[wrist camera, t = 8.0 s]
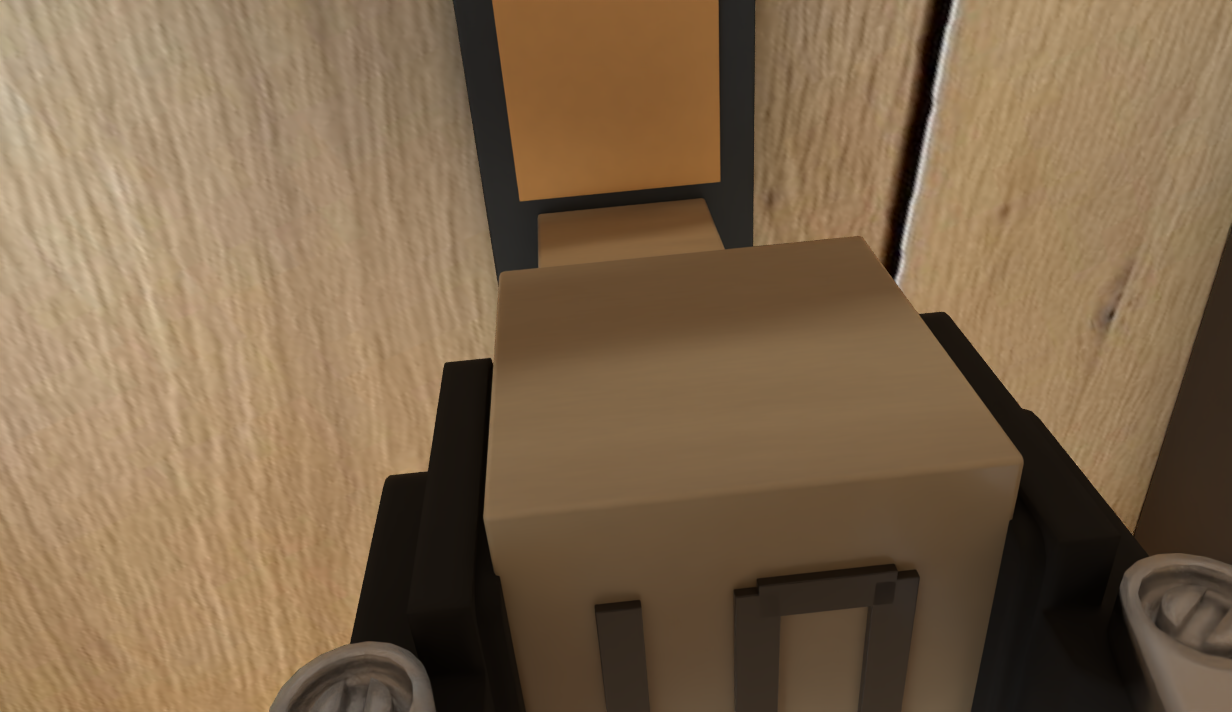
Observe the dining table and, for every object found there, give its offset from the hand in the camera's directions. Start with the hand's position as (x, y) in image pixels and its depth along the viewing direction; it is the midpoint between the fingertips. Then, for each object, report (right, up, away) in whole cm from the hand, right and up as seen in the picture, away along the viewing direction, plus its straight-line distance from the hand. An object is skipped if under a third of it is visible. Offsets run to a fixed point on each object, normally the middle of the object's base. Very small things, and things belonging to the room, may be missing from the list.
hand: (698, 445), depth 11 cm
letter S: (0, +1, +1) cm, 1 cm away
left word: (-1, +1, +16) cm, 16 cm away
